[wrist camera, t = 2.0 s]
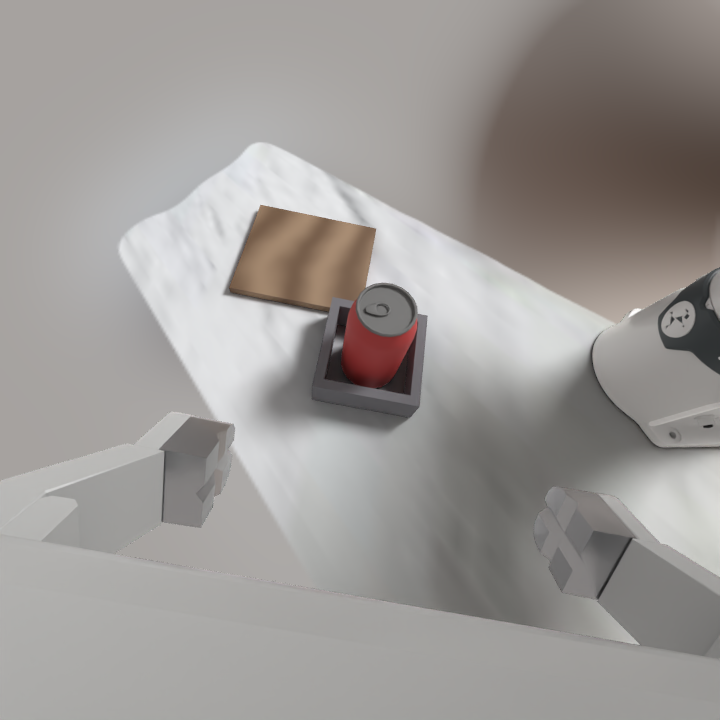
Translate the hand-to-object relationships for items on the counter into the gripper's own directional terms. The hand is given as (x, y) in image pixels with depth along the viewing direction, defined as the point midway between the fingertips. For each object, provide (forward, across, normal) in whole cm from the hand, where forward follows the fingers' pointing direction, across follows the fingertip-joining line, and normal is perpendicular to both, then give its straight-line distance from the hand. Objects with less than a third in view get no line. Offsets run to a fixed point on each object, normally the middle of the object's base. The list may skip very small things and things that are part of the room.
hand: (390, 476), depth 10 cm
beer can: (+33, -1, +9) cm, 35 cm away
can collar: (+33, -1, +9) cm, 34 cm away
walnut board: (+42, +9, 0) cm, 43 cm away
